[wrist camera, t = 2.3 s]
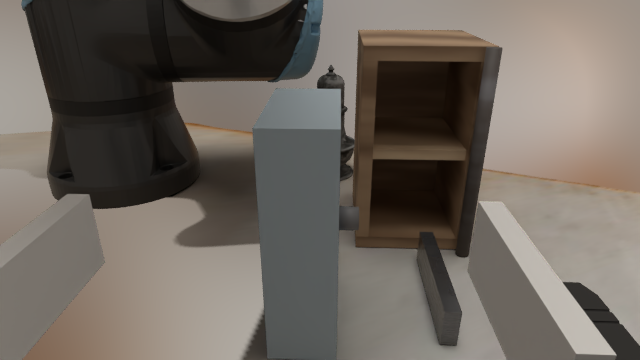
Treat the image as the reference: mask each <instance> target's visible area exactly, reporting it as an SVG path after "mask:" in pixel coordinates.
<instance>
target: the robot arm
mask: <svg viewBox="0 0 640 360" xmlns="http://www.w3.org/2000/svg"><path fill="white" fill-rule="evenodd" d="M22 9H23V10H24V11H25V13H26V16H27V21H28V24H29V28H30V32H31V36H32V40H33V43H34V47H35V51H36V55H37V58H38V62H39V66H40V70H41V74H42V77H43V81H44V85H45V89H46V93H47V96H48V100H49V104H50V108H51V112H52V117H53V122H52V131H51V140H50V149H49V158H48V167H47V176H48V180H49V184H50V188H51V191H52V194H53V196H54V197H55V199H57V200H58V201H57V202H56V203H55V204H53V205H52V206H51V207H50V208H48V209H47V210H46V211H44V212H43V213H42V214H40V215H39V216H38V217H37V218H35V219H34V220H32V221H31V222H30V223H29V224H27V225H26V226H25V227H23V228H22V229H21V230H19V231H18V232H17V233H15V234H14V235H13V236H12V237H10V238H9V239H8V240H6V241H5V242H4V243H2V244H1V245H0V360H22V359H23V358H24V357H25V355H26V354H27V353H28V352H29V351H30V350H31V349H32V347H33V346H34V345H35V344H36V343H37V342H38V340H39V339H40V338H41V337H42V336H43V334H44V333H45V332H46V331H47V330H48V329H49V327H50V326H51V325H52V324H53V323H54V321H55V320H56V319H57V318H58V317H59V316H60V315H61V313H62V312H63V311H64V310H65V309H66V307H67V306H68V305H69V304H70V303H71V302H72V300H73V299H74V298H75V297H76V296H77V295H78V293H79V292H80V291H81V290H82V289H83V287H84V286H85V285H86V284H87V283H88V282H89V280H90V279H91V278H92V277H93V276H94V275H95V273H96V272H97V271H98V270H99V269H100V267H101V266H102V265H103V264H104V263H105V261H104V257H103V252H102V248H101V243H100V239H99V234H98V230H97V226H96V222H95V217H94V213H93V209H108V208H120V207H127V206H134V205H139V204H144V203H148V202H152V201H155V200H159V199H162V198H165V197H167V196H170V195H172V194H175V193H177V192H179V191H181V190H183V189H184V188H186V187H188V186H189V185H190V184H192V183H193V182H194V181H195V180H196V179H197V177H198V176H199V174H200V164H199V156H198V151H197V148H196V146H195V144H194V142H193V140H192V138H191V136H190V134H189V132H188V130H187V128H186V126H185V124H184V122H183V120H182V118H181V116H180V113H179V111H178V110H177V108H176V104H175V100H174V92H173V85H172V82H203V81H204V82H208V81H268V82H278V81H280V80H290V79H299V78H302V77H304V76H305V75H306V74H308V72H309V71H310V70H311V68H312V66H313V64H314V61H315V58H316V55H317V50H318V46H319V40H320V24H321V20H322V14H323V0H22ZM468 273H469V275H470V278H471V280H472V282H473V284H474V287H475V289H476V291H477V293H478V296H479V298H480V300H481V302H482V305H483V307H484V309H485V311H486V314H487V316H488V318H489V320H490V323H491V325H492V327H493V329H494V332H495V334H496V336H497V338H498V341H499V343H500V345H501V347H502V350H503V352H504V354H505V356H506V359H507V360H640V346H639V345H638V343H637V342H636V341H635V340H634V339H633V337H632V336H631V335H630V334H629V332H628V331H627V330H626V329H625V328H624V326H623V325H622V324H619V320H618V319H617V318H616V317H615V316H614V314H613V313H612V312H610V311H609V308H608V307H607V306H606V305H605V304H604V302H603V301H602V300H601V299H600V298H599V296H598V295H597V294H595V293H594V292H592V291H591V290H589V289H588V288H586V287H585V286H584V285H582V284H581V283H573V282H562V281H561V280H560V278H559V277H558V276H557V274H556V273H555V272H554V270H553V269H552V268H551V266H550V265H549V264H548V262H547V261H546V260H545V258H544V257H543V256H542V254H541V253H540V252H539V250H538V249H537V248H536V246H535V245H534V244H533V242H532V241H531V240H530V238H529V237H528V236H527V234H526V233H525V232H524V230H523V229H522V228H521V226H520V225H519V224H518V222H517V221H516V220H515V218H514V217H513V216H512V214H511V213H510V212H509V210H508V209H507V208H506V206H505V205H504V203H503V202H485V201H479V203H478V209H477V215H476V221H475V228H474V234H473V240H472V247H471V253H470V259H469V266H468Z"/></svg>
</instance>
